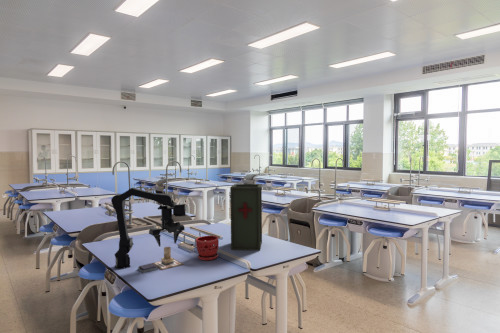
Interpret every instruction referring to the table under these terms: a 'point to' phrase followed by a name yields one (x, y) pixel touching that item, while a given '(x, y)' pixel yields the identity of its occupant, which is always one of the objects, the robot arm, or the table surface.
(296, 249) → the table surface
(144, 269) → the dark grey flat block
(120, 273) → the table surface
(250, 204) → the first aid box
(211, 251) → the plant pot
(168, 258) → the stamp
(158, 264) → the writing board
